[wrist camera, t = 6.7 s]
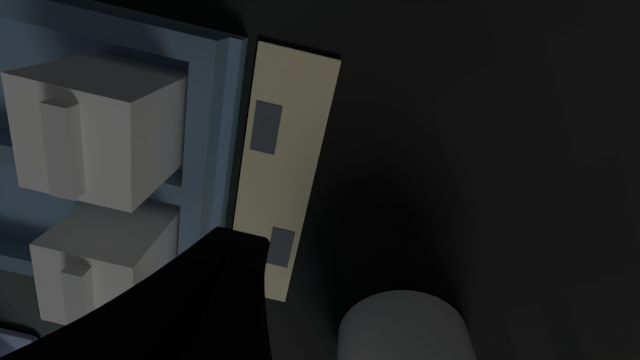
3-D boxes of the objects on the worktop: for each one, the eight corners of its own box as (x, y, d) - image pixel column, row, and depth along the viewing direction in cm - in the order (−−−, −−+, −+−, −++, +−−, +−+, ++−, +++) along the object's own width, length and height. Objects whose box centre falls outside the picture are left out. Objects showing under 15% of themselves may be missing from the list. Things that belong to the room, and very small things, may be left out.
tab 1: (188, 158, 18) (121, 222, 13) (104, 138, 18) (4, 194, 13) (194, 73, 16) (119, 108, 11) (101, 51, 16) (-17, 76, 11)
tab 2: (182, 265, 21) (125, 352, 16) (110, 249, 21) (30, 330, 16) (186, 203, 19) (124, 278, 14) (107, 185, 19) (16, 253, 14)
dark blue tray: (285, 299, 22) (276, 336, 20) (-33, 225, 22) (-81, 253, 20) (341, 60, 16) (338, 71, 14) (-99, -46, 16) (-180, -54, 14)
